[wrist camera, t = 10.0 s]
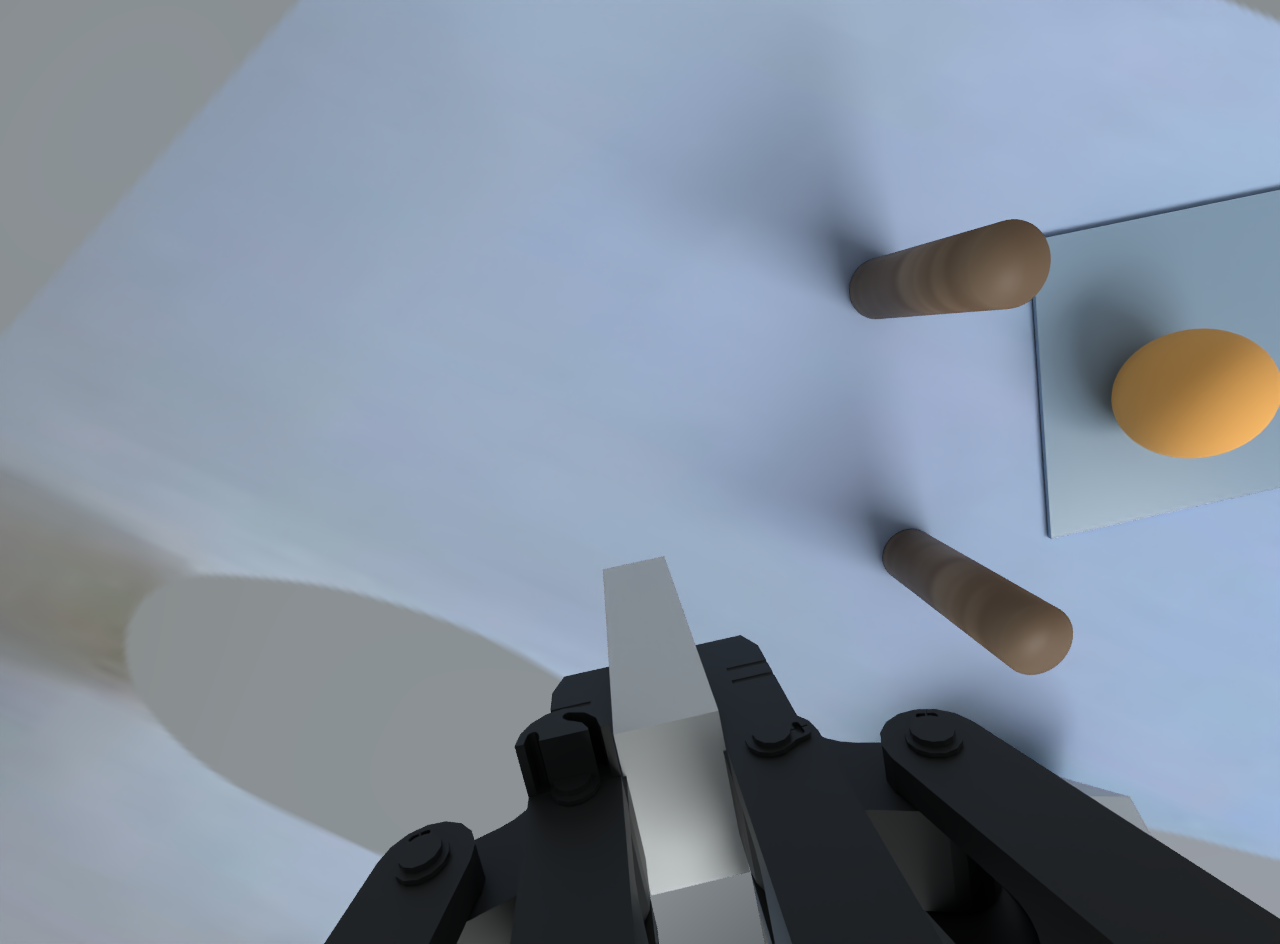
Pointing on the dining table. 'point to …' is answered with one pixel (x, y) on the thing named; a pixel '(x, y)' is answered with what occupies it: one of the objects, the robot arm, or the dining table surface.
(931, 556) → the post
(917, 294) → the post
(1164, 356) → the ball
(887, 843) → the robot arm
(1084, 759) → the dining table surface
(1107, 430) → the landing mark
